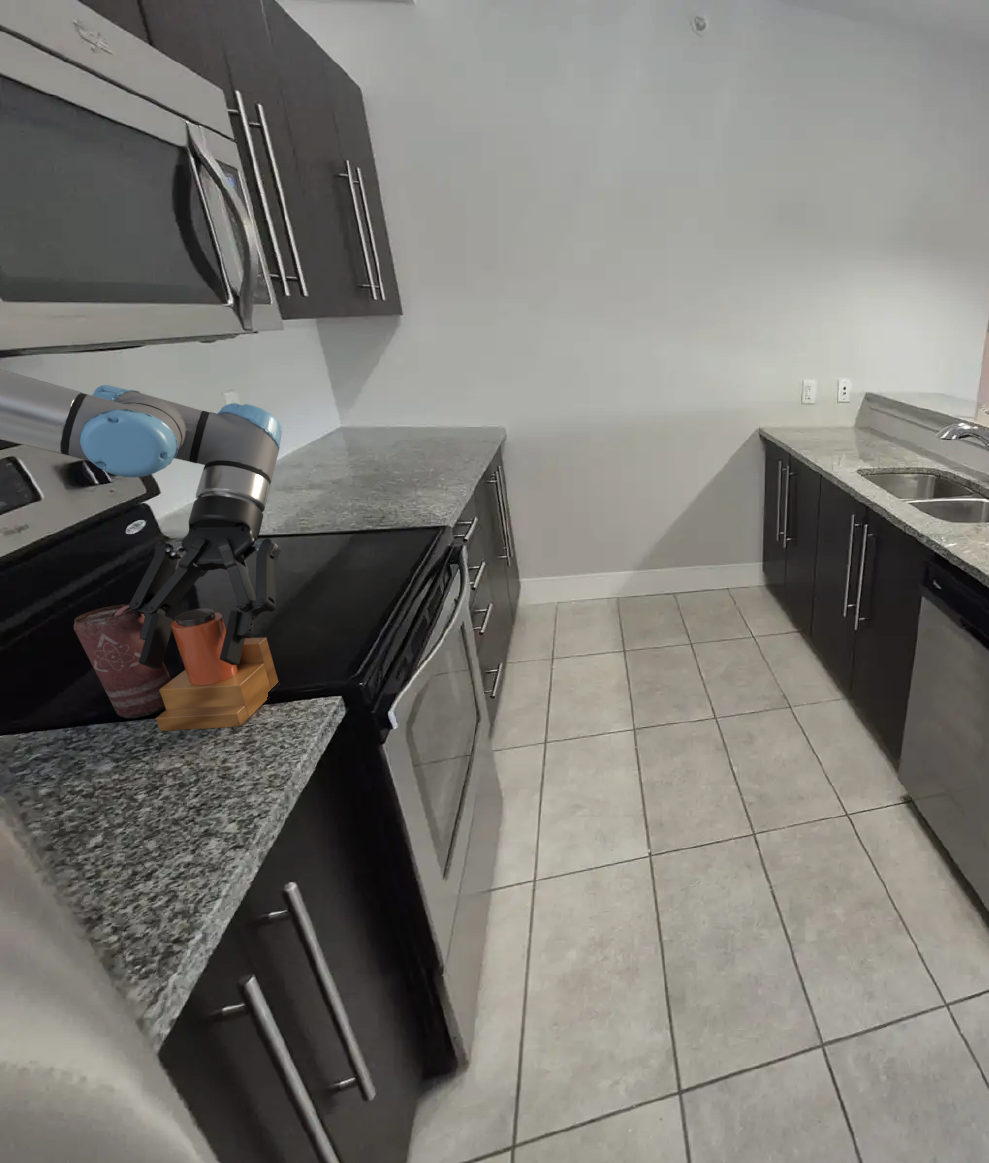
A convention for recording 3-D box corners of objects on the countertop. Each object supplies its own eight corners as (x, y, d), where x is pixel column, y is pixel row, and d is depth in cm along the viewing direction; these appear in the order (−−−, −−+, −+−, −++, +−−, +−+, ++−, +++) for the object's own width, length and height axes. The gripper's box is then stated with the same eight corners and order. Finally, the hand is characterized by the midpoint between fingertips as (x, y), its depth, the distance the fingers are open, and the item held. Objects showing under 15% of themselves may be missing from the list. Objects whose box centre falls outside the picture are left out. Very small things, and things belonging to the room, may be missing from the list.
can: (192, 697, 88) (150, 604, 82) (136, 722, 82) (88, 625, 77) (163, 690, 90) (121, 599, 84) (107, 715, 84) (58, 619, 79)
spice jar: (179, 686, 82) (158, 623, 79) (204, 667, 87) (184, 606, 83) (224, 684, 83) (205, 621, 80) (246, 665, 88) (228, 605, 84)
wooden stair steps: (160, 731, 81) (140, 677, 78) (208, 690, 90) (192, 640, 88) (240, 726, 83) (224, 673, 80) (280, 686, 92) (266, 637, 89)
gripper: (325, 518, 95) (297, 667, 86) (162, 520, 91) (115, 676, 82) (300, 492, 88) (267, 651, 79) (122, 492, 84) (66, 659, 75)
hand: (190, 663), depth 81 cm, fingers open, 8 cm apart
